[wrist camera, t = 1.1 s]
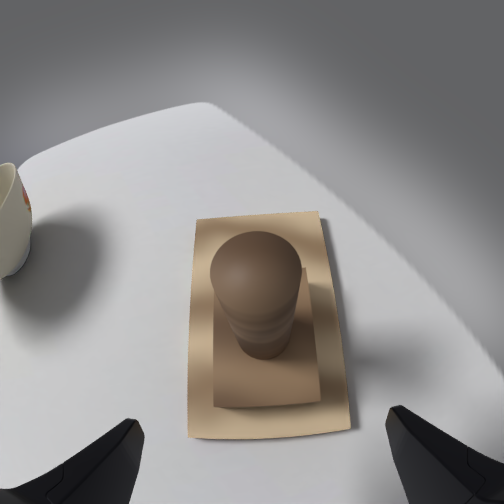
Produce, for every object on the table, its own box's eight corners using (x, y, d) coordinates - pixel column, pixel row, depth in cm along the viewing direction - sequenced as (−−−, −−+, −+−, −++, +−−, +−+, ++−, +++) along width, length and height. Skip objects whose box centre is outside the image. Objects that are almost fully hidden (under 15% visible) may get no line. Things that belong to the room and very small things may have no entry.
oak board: (347, 428, 18) (350, 428, 17) (191, 436, 19) (187, 437, 18) (316, 217, 29) (318, 211, 28) (198, 225, 29) (196, 219, 28)
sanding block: (315, 402, 19) (364, 388, 8) (220, 407, 19) (161, 399, 9) (303, 281, 24) (321, 175, 14) (219, 287, 24) (181, 185, 14)
